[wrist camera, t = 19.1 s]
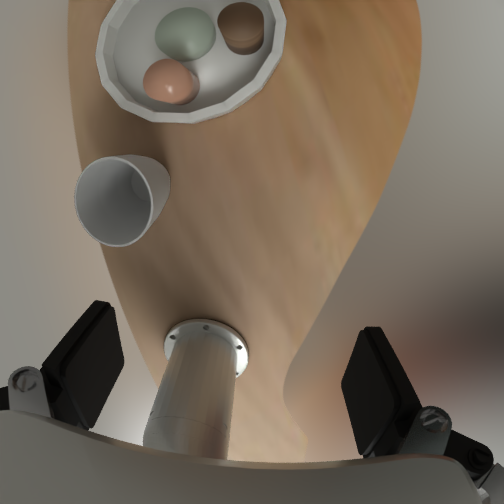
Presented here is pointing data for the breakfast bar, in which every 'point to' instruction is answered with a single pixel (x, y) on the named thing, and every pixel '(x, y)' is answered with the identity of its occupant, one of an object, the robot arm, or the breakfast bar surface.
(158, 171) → the cup
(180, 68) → the pinkish-brown rounded piece
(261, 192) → the breakfast bar surface
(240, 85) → the groove tray
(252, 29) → the walnut bead
